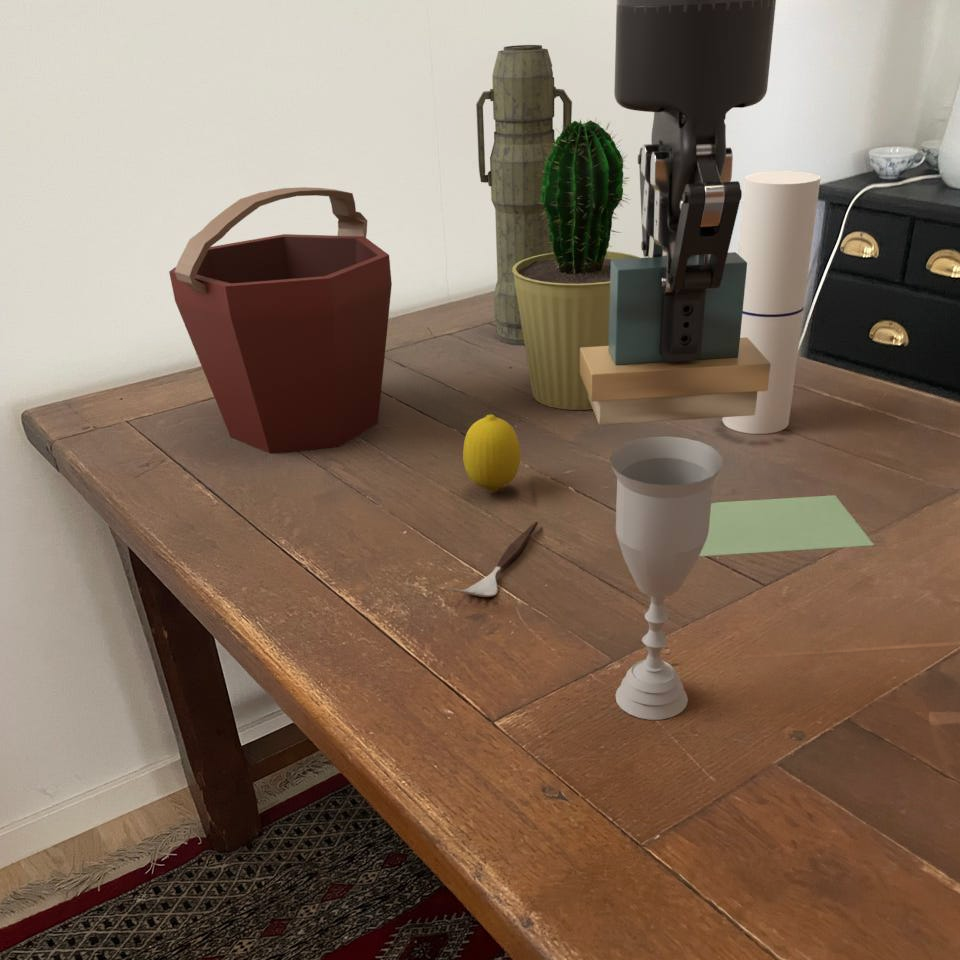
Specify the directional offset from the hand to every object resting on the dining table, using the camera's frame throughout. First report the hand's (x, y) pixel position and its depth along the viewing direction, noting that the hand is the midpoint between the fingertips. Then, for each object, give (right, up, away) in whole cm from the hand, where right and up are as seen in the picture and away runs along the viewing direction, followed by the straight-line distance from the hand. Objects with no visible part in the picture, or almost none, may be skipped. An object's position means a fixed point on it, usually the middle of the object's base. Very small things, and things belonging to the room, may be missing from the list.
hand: (673, 349), depth 58 cm
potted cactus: (+1, +13, +65) cm, 66 cm away
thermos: (-4, +26, +85) cm, 89 cm away
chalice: (+1, -21, +14) cm, 25 cm away
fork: (-9, -10, +30) cm, 33 cm away
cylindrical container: (+19, +7, +55) cm, 59 cm away
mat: (+15, -6, +34) cm, 38 cm away
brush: (0, -3, +2) cm, 3 cm away
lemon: (-10, -2, +43) cm, 44 cm away
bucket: (-31, +8, +60) cm, 68 cm away
